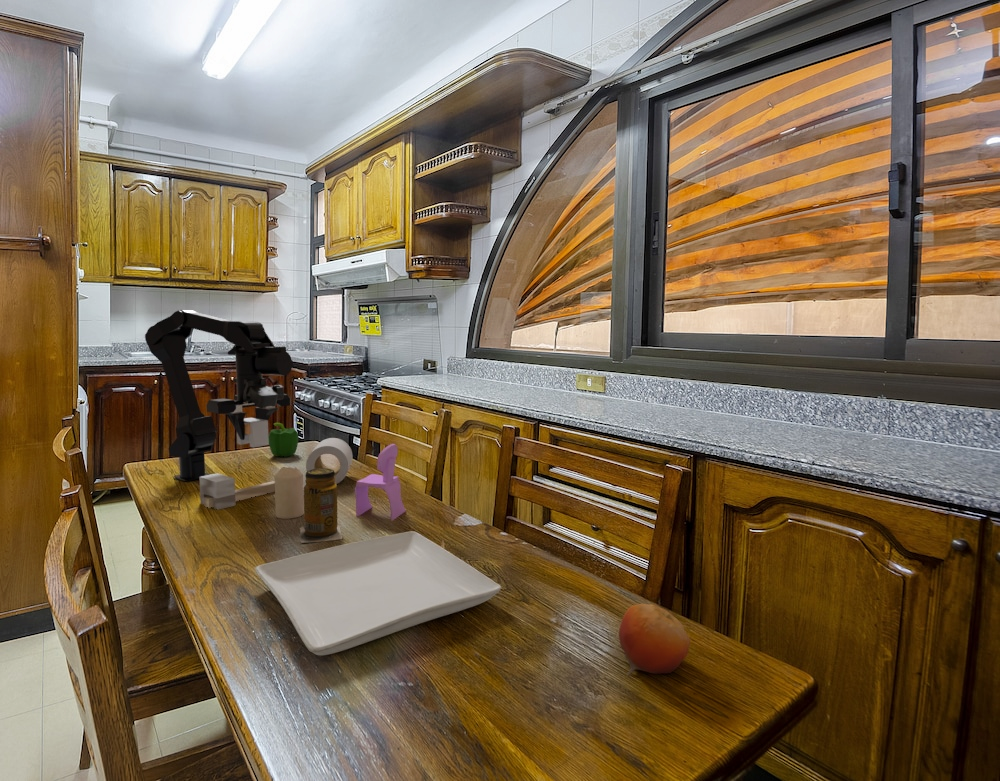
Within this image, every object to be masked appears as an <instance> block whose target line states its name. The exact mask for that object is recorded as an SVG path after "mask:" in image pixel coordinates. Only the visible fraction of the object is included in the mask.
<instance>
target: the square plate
mask: <svg viewBox="0 0 1000 781" xmlns="http://www.w3.org/2000/svg"><path fill="white" fill-rule="evenodd" d="M254 571H255V573H256V575H257V576H258V577H259V579H260V580H261V581H262V582H263V583H264V584H265V586H266V587H267V588H268V589H269V590H270V592H271V593H272V595H273V596H274V597H275V599H277V601H278V603H279V604H280V605H281V607H282V609H283V610H284V612H285V613H286V615H287V616H288V618H289V620H290V622H291V623H292V625H293V628H294V629H295V630H296V632H297V634H298V636H299V638H300V639H301V641H302V642H303V644H304V645H305V647H306V649H307V650H308V651H309V652H311V653H312V654H314V655H317V656H328V655H332V654H336V653H339V652H343V651H346V650H348V649H349V650H350V649H352V648H355V647H357V646H359V645H363V644H366V643H368V642H372V641H375V640H377V639H380V638H383V637H387V636H389V635H391V634H394V633H396V632H399V631H403V630H405V629H408V628H411V627H414V626H417V625H419V624H423V623H426V622H429V621H432V620H435V619H438V618H441V617H445V616H448V615H450V614H454V613H458V612H460V611H464V610H467V609H470V608H473V607H475V606H479V605H480V604H482V603H485V602H487V601H488V600H490V599H491V598H493V597H494V596H496V595H497V594H499V592H500V591H501V589H502V586H501V585H500V584H499V583H497V582H495V581H494V580H493V579H491V578H489V576H487V575H485V574H484V573H482V572H481V571H479V570H477V569H476V568H475V567H473V566H471V565H470V564H468V563H467V562H466V561H464V560H463V559H460V558H459V557H458V556H456V555H454V554H453V553H452V552H449V551H448V550H446V549H445V548H443V547H442V546H440V545H439V544H437V543H435V542H433V541H432V540H430V539H428V538H427V537H426V536H424V535H422V534H421V533H418V532H417V531H414V530H413V531H412V530H411V531H405V532H399V533H394V534H390V535H383V536H380V537H374V538H369V539H364V540H360V541H355V542H349V543H344V544H341V545H335V546H332V547H328V548H327V547H326V548H324V549H319V550H315V551H310V552H307V553H302V554H300V555H299V554H298V555H294V556H291V557H286V558H284V559H280V560H276V561H275V560H274V561H272V562H271V561H270V562H267V563H263V564H260V565H256V566H255V567H254Z"/></svg>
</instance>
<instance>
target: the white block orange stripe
mask: <svg viewBox="0 0 1000 781" xmlns="http://www.w3.org/2000/svg"><path fill="white" fill-rule="evenodd" d="M244 427H245V439H244V440H241V439H240V437H239V435H238V433H237V432H236V444H237V445H247V444H249V447H250V448H254V449H255V448H258V447H264V446H269V438H268V436H269V420H263V419H257V418H256V417H244Z"/></svg>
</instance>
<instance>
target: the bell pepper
mask: <svg viewBox="0 0 1000 781" xmlns="http://www.w3.org/2000/svg"><path fill="white" fill-rule="evenodd" d="M273 425H274V427H280V429H276V428H274V429H271V430H270V432H269V433H268V438H269V445H268V446H269V449H270V452H271V454H272V455H273V457H278V456H280V457H283V456H284V457H292V456H294V455H295V454H296V452H297V448H298V444H299V433H298V431H297V430H296V429H295V428H294V427H291V428H285V426H284V424H283V423H282V422H281V423H280V422H275V423H273Z"/></svg>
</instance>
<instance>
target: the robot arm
mask: <svg viewBox="0 0 1000 781" xmlns="http://www.w3.org/2000/svg"><path fill="white" fill-rule="evenodd" d="M194 330H197V331H201V332H205V333H209V334H212V335H217V336H220V337H221V338H224V339H225V340H226V342H229V343H231V344H233V347H232V348H230V350H228V352H227V355H230V356H235V372H236V377H234V378H233V383H236V394H235V395H233V397H234V398H233V399H229V398H216V399H215V398H214V399H213V398H212V399H209V400H208V401H207V403H206V412H207V413H211V414H218V415H225V416H226V417H227V418H228V419H229V421H230V423H231V424H232V426H233V428H234V430H235V431H236V434H237V433H238V435H239V437H240V439H241V440H244V439H245V427H244V418H246V415H247V412H245V411H243V408H250V407H251V408H252V407H254V411H255V418H257V419H263V420H268V421H269V420H270V418H271V415H272V414H274V412H276V411H278V410H279V408H278V407H281V408H282V407H290V406H292V403H291V402H292V400H291V397H290V395H289V394H286V393H285V392H284V390H285V389H284V386H283V385H282V384H275V385H272V386H268V385H267V380H266V378H265V377H263V375H265V376H283V377H284V376H287V375H289V374H290V373H291V371H292V369H293V359H292V357H291V355H290V353H289V352H287V347H286V346H275V345H274V343H273V342H272V340H271V338H270V337H269V335H268V333H267V332H266V330H265V328H264V326H263V324H262V323H261V322H259V321H248V320H246V321H245V320H243V321H242V320H238V321H237V320H229V319H225V318H221V317H217V316H213V315H210V314H204V313H201V312H197V311H195V310H193V309H191V310H190V309H189V310H188V309H178V310H176V311H175V312H173V313H172V314H171V315H169V316H167V317H165V318H164V319H161V320H159V321H157V322H156V323H155V324H153V325H152V326H150V327H148V329H147V331H146V333H145V334H144V338H145V339H144V341H145V342H146V345H147V347H148V349H149V351H150V353H151V354H152V355H153V356H154V357H155V358H156V359H157V360H158V361H159V362H160V363H161V366H162V369H163V371H164V375H165V378H166V381H167V384H168V388H169V390H170V394H171V397H172V399H173V403H174V405H175V410H176V413H177V416H178V421H177V424H176V427H175V433H176V439H175V440H174V441H173V443H171V445H170V446H169V447H168V452H169V456H170V457H173V458H178V463H179V465H178V466H179V474H177V475H173V478H174V479H177V480H180V481H182V482H191V481H195V480H196V481H197V480H200V479H199V477H201V476H206V475H211V474H212V473H207V472H206V461H205V460H206V459H205V453H208V452H212V451H213V448H214V444H215V440H216V439H217V431H218V430H217V428H216V426H215V423H214V419H213V417H212V415H208V416H206V415H205V414H204V413H203V412H202V411H201V409H200V405H199V402H198V399H197V396H196V393H195V389H194V387H193V386H194V385H193V384H192V380H191V377H190V374H189V371H188V367H187V364H186V361H185V354H186V350H187V343H186V342H187V341H186V340H187V339H188V338H189V337H190V336H192V334H193V331H194ZM276 406H278V407H276Z"/></svg>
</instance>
